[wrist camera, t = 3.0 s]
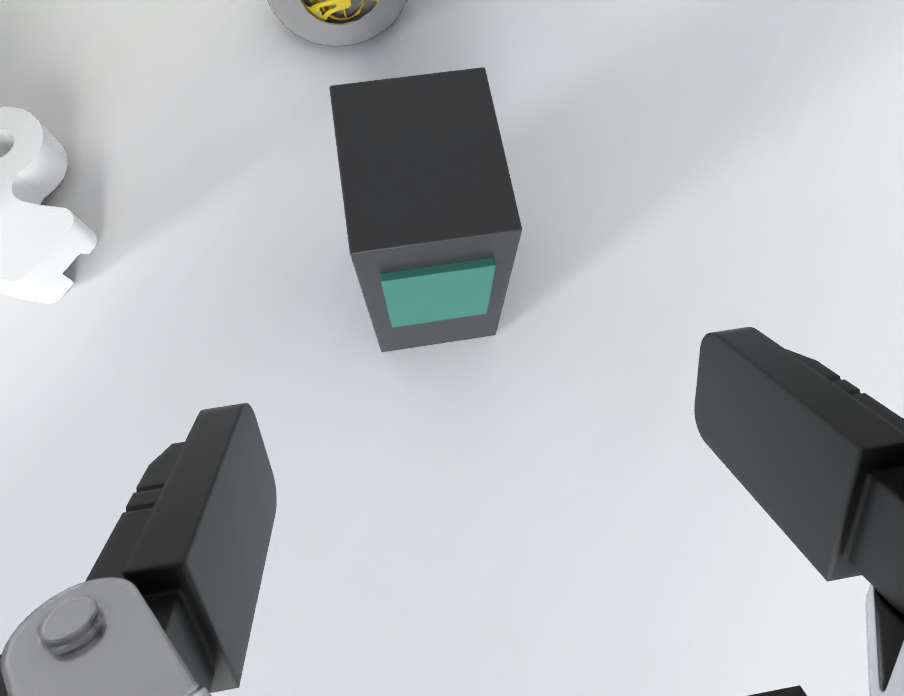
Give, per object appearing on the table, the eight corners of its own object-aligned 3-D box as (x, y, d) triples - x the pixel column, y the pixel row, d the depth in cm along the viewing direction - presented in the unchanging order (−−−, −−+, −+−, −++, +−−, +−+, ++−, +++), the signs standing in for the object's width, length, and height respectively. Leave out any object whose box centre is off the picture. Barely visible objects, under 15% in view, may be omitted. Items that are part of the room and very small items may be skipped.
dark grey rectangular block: (497, 341, 25) (525, 238, 17) (382, 359, 25) (351, 263, 16) (471, 215, 27) (485, 66, 19) (364, 230, 27) (328, 85, 18)
